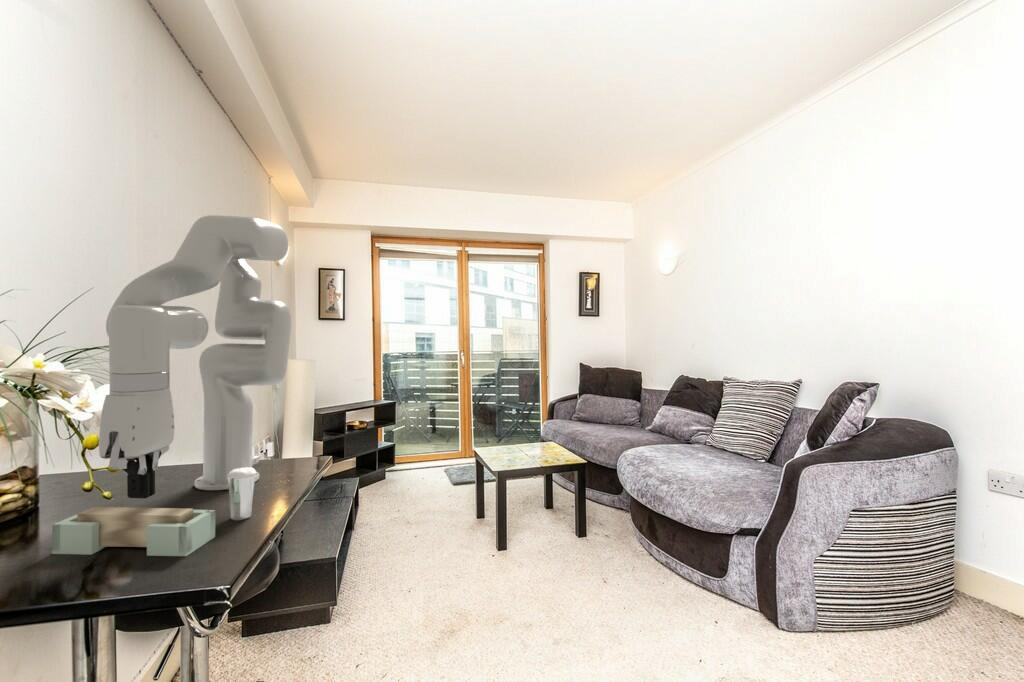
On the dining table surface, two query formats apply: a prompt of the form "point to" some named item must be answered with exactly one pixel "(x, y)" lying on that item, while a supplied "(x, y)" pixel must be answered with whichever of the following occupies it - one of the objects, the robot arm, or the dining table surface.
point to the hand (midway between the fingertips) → (141, 496)
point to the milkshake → (241, 491)
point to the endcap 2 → (181, 535)
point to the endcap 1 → (75, 537)
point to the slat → (130, 523)
